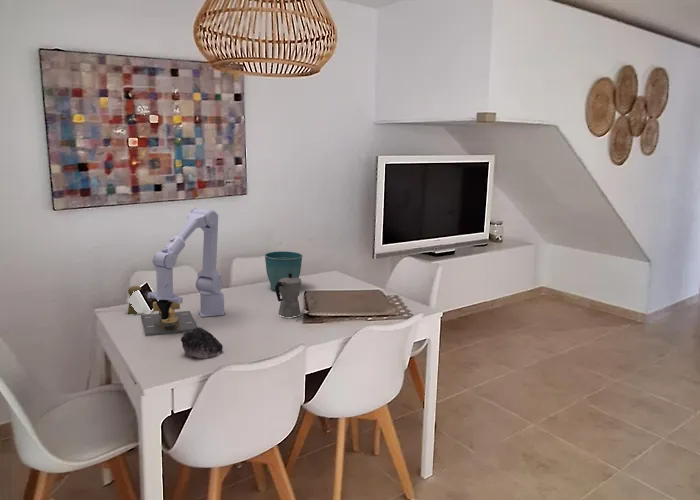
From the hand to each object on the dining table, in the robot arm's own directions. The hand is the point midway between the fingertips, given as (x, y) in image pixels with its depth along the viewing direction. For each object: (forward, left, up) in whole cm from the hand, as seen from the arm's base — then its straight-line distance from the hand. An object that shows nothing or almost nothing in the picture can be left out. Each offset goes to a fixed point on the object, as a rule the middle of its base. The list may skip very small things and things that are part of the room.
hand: (165, 318), depth 213 cm
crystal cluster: (-9, +25, -5) cm, 27 cm away
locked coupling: (-2, -14, -3) cm, 15 cm away
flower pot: (-59, -42, -5) cm, 73 cm away
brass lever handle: (-2, -3, -3) cm, 5 cm away
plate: (-2, -7, -5) cm, 9 cm away
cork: (+9, -25, -5) cm, 27 cm away
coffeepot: (-49, -3, -5) cm, 49 cm away
